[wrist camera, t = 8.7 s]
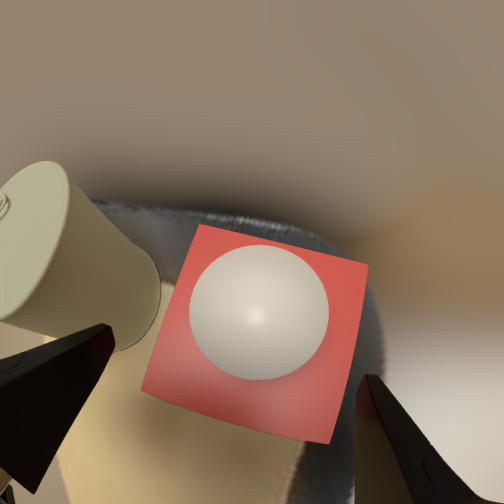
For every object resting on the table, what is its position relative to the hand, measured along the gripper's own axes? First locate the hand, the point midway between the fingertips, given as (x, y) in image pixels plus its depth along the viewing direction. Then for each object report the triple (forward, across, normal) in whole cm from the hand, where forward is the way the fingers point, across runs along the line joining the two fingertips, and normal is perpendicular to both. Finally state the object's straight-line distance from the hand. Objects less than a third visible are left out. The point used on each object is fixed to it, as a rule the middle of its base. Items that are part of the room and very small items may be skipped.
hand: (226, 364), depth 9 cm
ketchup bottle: (+6, 0, +4) cm, 7 cm away
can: (+9, +12, +5) cm, 16 cm away
